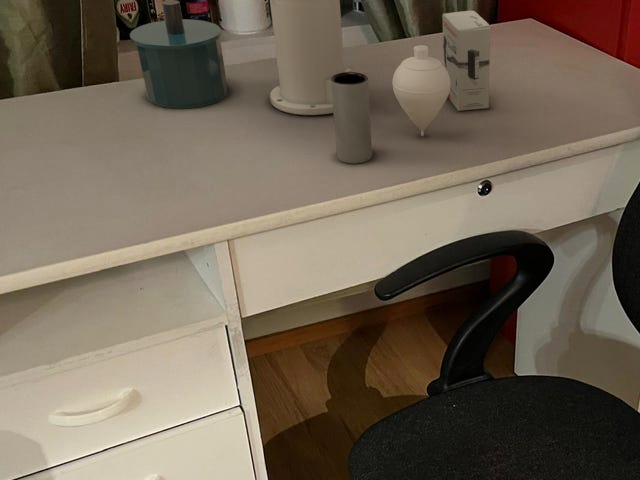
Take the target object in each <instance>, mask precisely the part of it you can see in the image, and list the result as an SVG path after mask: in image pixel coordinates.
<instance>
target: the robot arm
mask: <svg viewBox="0 0 640 480" xmlns="http://www.w3.org/2000/svg"><path fill="white" fill-rule="evenodd" d="M269 5H270V14H271V23H272V31H273V39H274V49H275V57H276V65H277V72H278V83H279V84H278V85H277V86H275V87H274V88H273V89H272V90H271V92H270V94H269V98H270V104H271V105H272V106H273V107H274V108H275V109H276V110H279V111H281V112H284V113H288V114H292V115H297V116H299V115H300V116H320V115H331V114H334V113H333V101H332V88H331V78H332V76H334V75H336V74H339V73H344V72H352V69H351V68H347V67H345V58H344V57H345V55H344V41H343V28H342V11H341V0H269Z"/></svg>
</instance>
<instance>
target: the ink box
mask: <svg viewBox="0 0 640 480" xmlns="http://www.w3.org/2000/svg"><path fill="white" fill-rule="evenodd" d="M442 58H443V59H442V61H443V63H442V65H443V66H444V67H445V69H446V70H447V72H448V74H449V77H450V82H451V85H450V92H449V95H448V97H447V99H449V101H450V102H451V104H453V106H454V108H455V109H456V111H458V112H462V111H471V110H472V111H473V110H480V109H481V110H482V109H489V107H490V106H489V105H490V64H491V63H490V61H491V60H490V58H491V27H490V24H489V23H488V22H487V21H486V20H485V19H484V18H483V17H481V15H479V13H477V12H476V11H475V10H463V11H455V12H454V11H453V12H446V13H442Z"/></svg>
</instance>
